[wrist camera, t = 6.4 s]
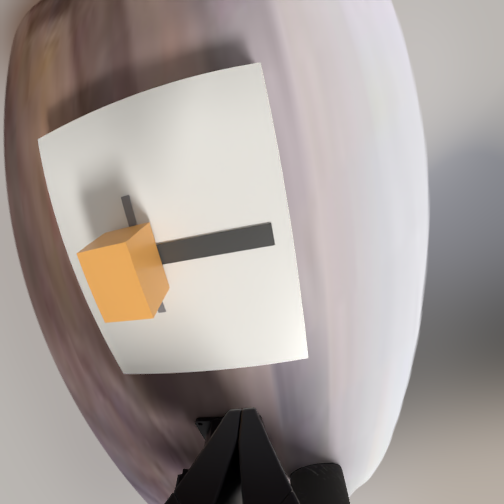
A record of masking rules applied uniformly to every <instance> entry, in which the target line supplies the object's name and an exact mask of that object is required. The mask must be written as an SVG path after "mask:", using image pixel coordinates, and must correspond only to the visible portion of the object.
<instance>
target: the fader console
mask: <svg viewBox="0 0 504 504" xmlns="http://www.w3.org/2000/svg"><path fill="white" fill-rule="evenodd" d="M38 144H39V150H40V155H41V160H42V165H43V170H44V174H45V179H46V183H47V187H48V191H49V195H50V199H51V203H52V206H53V210H54V213H55V217H56V220H57V223H58V226H59V230H60V233H61V236H62V239H63V242H64V245H65V248H66V251H67V253H68V256H69V259H70V262H71V264H72V267H73V269H74V272H75V275H76V277H77V280H78V282H79V284H80V287H81V289H82V292H83V294H84V296H85V299H86V301H87V303H88V305H89V308H90V310H91V312H92V314H93V316H94V318H95V320H96V323H97V325H98V327H99V329H100V331H101V333H102V335H103V337H104V339H105V341H106V343H107V344H108V346H109V348H110V350H111V352H112V354H113V356H114V357H115V359H116V361H117V363H118V365H119V366H120V368H121V370H122V372H123V373H124V374H160V373H183V372H199V371H212V370H223V369H233V368H243V367H251V366H259V365H267V364H274V363H281V362H287V361H293V360H299V359H305V358H308V351H307V341H306V333H305V324H304V316H303V307H302V299H301V292H300V284H299V277H298V269H297V262H296V255H295V248H294V241H293V235H292V228H291V222H290V215H289V209H288V203H287V197H286V191H285V185H284V179H283V173H282V168H281V162H280V157H279V151H278V146H277V140H276V135H275V130H274V125H273V120H272V115H271V110H270V105H269V100H268V95H267V90H266V86H265V81H264V76H263V72H262V67H261V63H254V64H248V65H242V66H237V67H232V68H227V69H222V70H218V71H213V72H209V73H205V74H201V75H197V76H193V77H189V78H186V79H182V80H178V81H175V82H172V83H168V84H165V85H162V86H159V87H156V88H152V89H149V90H147V91H144V92H141V93H138V94H135V95H132V96H130V97H127V98H124V99H122V100H119V101H117V102H114V103H112V104H109V105H107V106H104V107H102V108H100V109H97V110H95V111H93V112H91V113H88V114H86V115H84V116H82V117H80V118H78V119H76V120H74V121H71V122H69V123H67V124H65V125H63V126H62V127H60V128H58V129H56V130H54V131H52V132H50V133H48V134H46V135H45V136H43V137H41V138H39V139H38ZM148 222H150V225H151V229H152V232H153V236H154V239H155V243H156V246H157V249H158V252H159V256H160V259H161V262H162V265H163V268H164V271H165V275H166V278H167V281H168V284H169V287H170V288H169V290H168V292H167V294H166V296H165V298H164V299H163V301H162V303H161V305H160V307H159V309H158V311H157V313H156V315H155V316H154V318H152V319H142V320H132V321H121V322H109V323H105V321H104V319H103V317H102V315H101V313H100V311H99V308H98V306H97V304H96V302H95V299H94V297H93V295H92V292H91V290H90V288H89V285H88V283H87V280H86V278H85V275H84V273H83V270H82V267H81V265H80V262H79V259H78V257H77V254H76V253H78V252H79V251H80V250H82V249H83V248H84V247H86V246H87V245H88V244H90V243H91V242H93V241H94V240H95V239H97V238H98V237H100V236H101V235H102V234H104V233H106V232H110V231H114V230H118V229H122V228H126V227H131V226H135V225H139V224H143V223H148Z"/></svg>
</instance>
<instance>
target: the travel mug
mask: <svg viewBox="0 0 504 504" xmlns="http://www.w3.org/2000/svg"><path fill="white" fill-rule="evenodd" d="M290 485H291V487H292V489H293V491H294V493H295V495H296V497H297V499H298V501H299V503H300V504H350V502H349V497H348V493H347V488H346V484H345V480H344V476H343V472H342V468H341V467H340V466H339V465H337V464H331V463H324V464H315V465H310V466H307V467H303V468H301V469H298V470H296V471H295V472H293V473H292V475H291V477H290Z"/></svg>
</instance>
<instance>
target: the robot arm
mask: <svg viewBox="0 0 504 504" xmlns="http://www.w3.org/2000/svg"><path fill="white" fill-rule="evenodd" d="M195 424H196V426H197V427H198V429H199V431H200V433H201V434H202V436H203V437H204V439H205V446H204V449H203V450H202V451H201V453H200V454H199V456H198V457H197V459H196V460H195V462H194V463H193V465H192V466H191V468H190V469H183V473H182V474H180V475H178V478H177V483H176V487H175V490H174V493H172V494H171V496H170V497H169V498H168V500H167V501H166V502H165V504H300V503H299V501H298V499H297V497H296V495H295V493H294V491H293V489H292V487H291V485H290V483H289V481H288V479H287V477H286V474H285V472H284V470H283V468H282V466H281V464H280V462H279V460H278V457H277V455H276V453H275V451H274V449H273V447H272V444H271V442H270V440H269V438H268V435H267V433H266V430H265V427H264V424H263V421H262V418H261V416H259V415H258V413H257V410H256V408H244V409H243V410H242V409H232V410H229V411H228V412H227V413H226V415H225V416H224V417H221V418H198V419H196V422H195Z"/></svg>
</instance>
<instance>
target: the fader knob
mask: <svg viewBox="0 0 504 504" xmlns="http://www.w3.org/2000/svg"><path fill="white" fill-rule="evenodd" d="M76 254H77V257H78V259H79V262H80V265H81V267H82V270H83V273H84V275H85V278H86V280H87V283H88V285H89V288H90V290H91V292H92V295H93V297H94V299H95V302H96V304H97V306H98V308H99V311H100V313H101V315H102V317H103V319H104V321H105V323H109V322H121V321H132V320H142V319H152V318H154V316H155V315H156V313H157V311H158V309H159V307H160V305H161V303H162V301H163V299H164V298H165V296H166V294H167V292H168V290H169V288H170V287H169V284H168V281H167V278H166V275H165V271H164V268H163V265H162V262H161V259H160V256H159V252H158V249H157V246H156V243H155V239H154V236H153V232H152V229H151V225H150V222H148V223H143V224H139V225H135V226H131V227H126V228H122V229H118V230H114V231H110V232H106V233H104V234H102V235H101V236H100V237H98V238H97V239H95V240H94V241H93V242H91V243H90V244H88V245H87V246H86V247H84V248H83V249H82V250H80V251H79V252H78V253H76Z"/></svg>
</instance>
